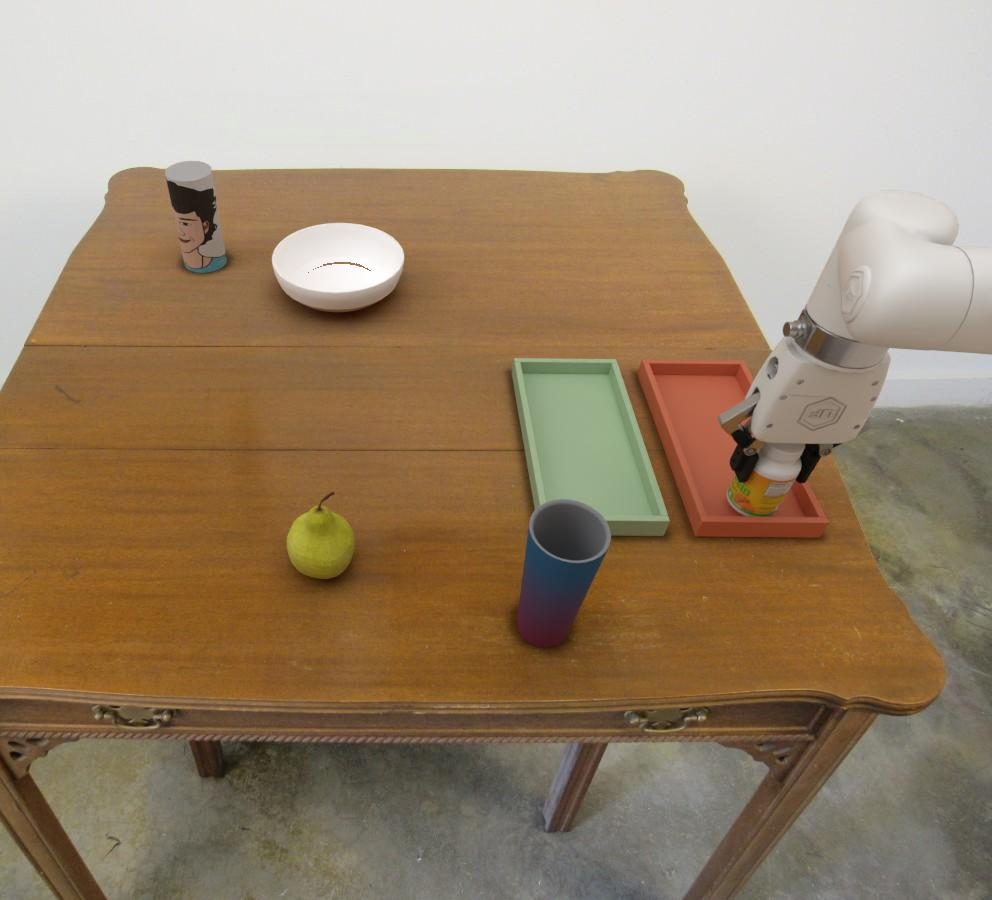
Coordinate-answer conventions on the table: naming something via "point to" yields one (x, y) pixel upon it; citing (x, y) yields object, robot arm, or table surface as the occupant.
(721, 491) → the terracotta tray
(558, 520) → the cup
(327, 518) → the fruit
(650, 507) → the sage tray
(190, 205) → the white printed cylinder
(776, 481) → the supplement bottle
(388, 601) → the table surface
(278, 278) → the bowl
